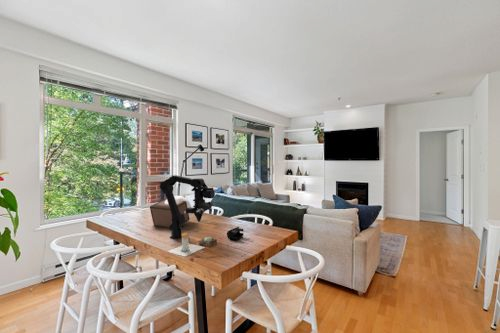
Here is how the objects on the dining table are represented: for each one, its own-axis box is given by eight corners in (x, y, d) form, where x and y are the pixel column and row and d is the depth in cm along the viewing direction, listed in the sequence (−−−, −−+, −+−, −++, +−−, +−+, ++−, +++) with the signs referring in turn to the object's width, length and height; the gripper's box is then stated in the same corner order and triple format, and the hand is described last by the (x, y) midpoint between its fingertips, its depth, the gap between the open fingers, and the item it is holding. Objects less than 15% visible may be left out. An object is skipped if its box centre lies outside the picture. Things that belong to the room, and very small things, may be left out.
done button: (202, 243, 146) (202, 238, 146) (207, 241, 150) (207, 236, 150) (208, 245, 144) (208, 240, 143) (213, 242, 148) (213, 237, 148)
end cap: (235, 235, 163) (235, 226, 163) (243, 237, 159) (243, 227, 159) (226, 240, 154) (226, 229, 154) (235, 241, 151) (235, 231, 151)
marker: (180, 250, 134) (180, 234, 134) (185, 248, 137) (185, 232, 137) (185, 252, 132) (184, 235, 132) (190, 250, 135) (189, 233, 135)
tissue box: (154, 230, 191) (148, 202, 186) (178, 215, 215) (173, 190, 210) (176, 234, 180) (170, 204, 175) (199, 218, 204) (195, 191, 199)
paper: (167, 252, 134) (167, 251, 134) (188, 243, 148) (188, 243, 147) (184, 256, 127) (184, 256, 127) (205, 247, 140) (205, 247, 140)
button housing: (198, 244, 146) (198, 240, 146) (207, 240, 152) (207, 237, 152) (208, 246, 141) (208, 242, 141) (217, 243, 148) (217, 239, 148)
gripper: (198, 200, 142) (198, 226, 142) (217, 196, 158) (217, 220, 158) (184, 199, 148) (185, 224, 148) (205, 195, 164) (205, 218, 164)
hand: (199, 221), depth 155 cm, fingers closed
